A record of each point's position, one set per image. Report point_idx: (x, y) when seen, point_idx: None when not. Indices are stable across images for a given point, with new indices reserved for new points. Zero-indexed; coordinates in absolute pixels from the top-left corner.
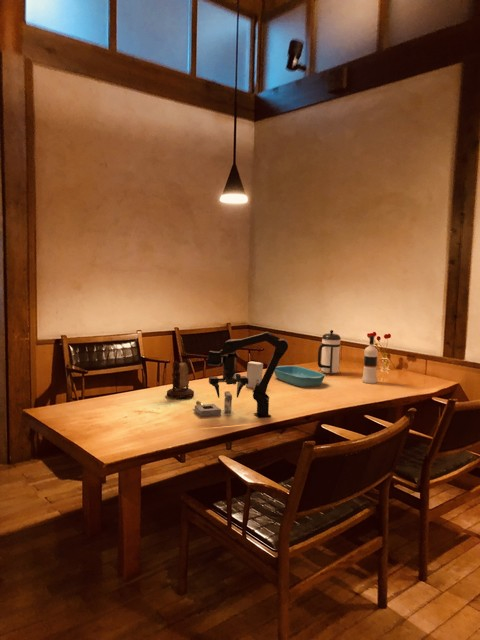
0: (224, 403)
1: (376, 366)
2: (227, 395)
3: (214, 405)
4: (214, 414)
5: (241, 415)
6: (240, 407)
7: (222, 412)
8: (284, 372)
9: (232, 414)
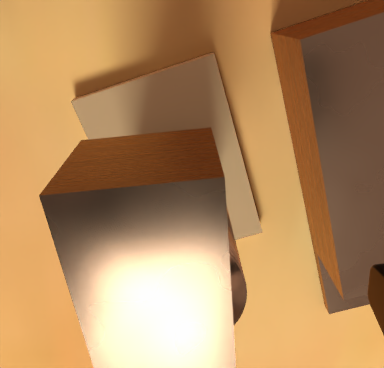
0: (231, 225)
1: None
2: (209, 199)
3: (355, 240)
4: (379, 2)
5: (7, 100)
6: (49, 351)
7: (237, 168)
8: None
9: (117, 86)
